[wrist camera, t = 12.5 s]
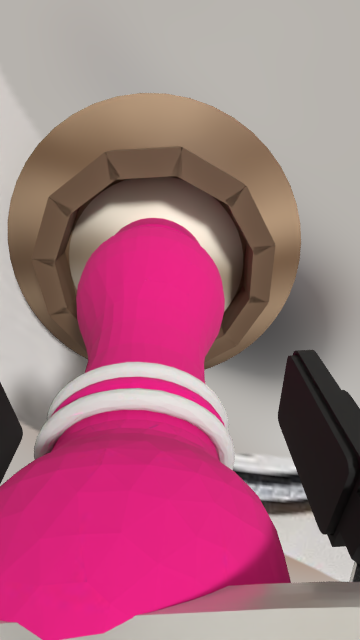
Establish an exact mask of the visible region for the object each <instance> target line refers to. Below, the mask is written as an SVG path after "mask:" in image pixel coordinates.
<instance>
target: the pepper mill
mask: <svg viewBox="0 0 360 640" xmlns="http://www.w3.org/2000/svg"><path fill="white" fill-rule="evenodd" d="M76 303H77V320H78V324H79V329H80V332H81V335H82V337H83V340H84V343H85V346H86V350H87V354H88V364H87V367H86V371H85V374H82V375H80V376H78V377H77V378H75V379H74V380H72V381H71V382H69V383H68V384H67V385H66V386H65V387H64V388H63V389H62V390H61V391H60V392H59V393H58V394H57V396H56V397H55V398H54V400H53V402H52V404H51V406H50V408H49V412H48V415H47V422H46V423H45V424H44V425H43V427H42V429H41V431H40V433H39V434H38V436H37V439H36V443H35V446H34V458H35V460H34V461H33V462H31V463H30V464H28V465H27V466H25V467H24V468H22V469H21V470H20V471H18V472H17V473H16V474H14V475H13V476H12V477H11V478H10V479H9V480H7V481H6V482H5V483H4V484H3V485H2V486H0V621H6V622H16V623H18V624H20V625H21V626H23V627H24V628H26V629H27V630H29V631H30V632H32V633H33V634H35V635H36V636H38V637H39V638H40V639H42V640H63V639H69V638H76V637H83V636H89V635H96V634H103V633H105V632H107V631H109V630H111V629H113V628H115V627H116V626H118V625H120V624H122V623H124V622H126V621H128V620H130V619H132V618H133V617H134V616H135V615H140V614H144V613H149V612H154V611H157V610H160V609H164V608H167V607H171V606H174V605H177V604H181V603H184V602H187V601H191V600H194V599H197V598H199V597H202V596H205V595H207V594H210V593H213V592H215V591H218V590H220V589H222V588H225V587H227V586H234V585H253V584H276V583H291V582H290V577H289V573H288V569H287V565H286V561H285V556H284V553H283V550H282V547H281V543H280V540H279V537H278V534H277V531H276V528H275V526H274V525H273V523H272V521H271V519H270V517H269V515H268V513H267V512H266V510H265V508H264V506H263V504H262V502H261V501H260V499H259V497H258V496H257V495H256V493H255V492H254V491H253V490H252V489H251V488H250V487H249V486H248V485H247V484H246V483H245V482H244V481H243V480H242V479H241V478H240V477H239V476H238V475H237V474H236V473H235V472H234V471H233V467H234V460H235V453H234V446H233V441H232V438H231V437H230V435H229V433H228V431H229V423H228V416H227V413H226V411H225V409H224V406H223V404H222V403H221V401H220V399H219V397H218V396H217V395H216V394H215V393H214V392H213V391H212V390H211V389H210V388H209V387H208V386H207V385H206V384H205V380H204V360H205V356H206V355H207V353H208V351H209V350H210V348H211V346H212V344H213V343H214V341H215V339H216V337H217V335H218V334H219V330H220V326H221V323H222V319H223V314H224V308H225V298H224V291H223V285H222V279H221V276H220V273H219V270H218V268H217V266H216V264H215V263H214V261H213V259H212V258H211V257H210V255H209V254H208V253H207V252H206V250H205V249H203V248H202V247H201V246H200V244H199V242H198V241H197V239H196V238H195V237H194V236H193V235H192V233H191V232H190V231H188V230H187V229H186V228H184V227H183V226H181V225H179V224H177V223H175V222H173V221H170V220H167V219H163V218H144V219H140V220H137V221H134V222H131V223H130V224H128V225H126V226H125V227H123V228H121V229H120V230H119V231H118V232H117V233H116V234H115V235H114V236H112V237H110V238H109V239H108V240H106V241H105V242H103V243H102V244H101V245H100V246H99V247H98V248H97V249H96V250H95V251H94V252H93V253H92V255H91V256H90V258H89V259H88V261H87V262H86V265H85V267H84V270H83V272H82V275H81V278H80V281H79V284H78V288H77V296H76Z"/></svg>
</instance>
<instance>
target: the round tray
mask: <svg viewBox="0 0 360 640" xmlns="http://www.w3.org/2000/svg"><path fill="white" fill-rule="evenodd" d="M144 218H163V219H167V220H170V221H173V222H175V223H177V224H179V225H181V226H183V227H184V228H186V229H187V230H188V231H190V232H191V233H192V235H193V236H194V237H195V238H196V239H197V241H198V242H199V244H200V246H201V247H202V248H203V249H205V250H206V252H207V253H208V254H209V255H210V257H211V258H212V259H213V261H214V263H215V264H216V266H217V268H218V270H219V273H220V276H221V279H222V285H223V291H224V298H225V308H224V314H223V319H222V323H221V326H220V330H219V334H218V335H217V337H216V339H215V341H214V343H213V344H212V346H211V348H210V350H209V351H208V353H207V355H206V356H205V360H204V369H207V368H211V367H213V366H215V365H218V364H220V363H222V362H224V361H226V360H228V359H230V358H232V357H233V356H235V355H237V354H238V353H240V352H241V351H243V350H244V349H245V348H247V347H248V346H249V345H251V344H252V343H253V342H254V341H255V340H256V339H257V338H259V337H260V336H261V335H262V334H263V333H264V331H265V330H266V329H267V328H268V327H269V326H270V325H271V323H272V322H273V321H274V319H275V318H276V316H277V315H278V314H279V312H280V310H281V309H282V307H283V306H284V303H285V302H286V300H287V298H288V296H289V294H290V291H291V288H292V286H293V283H294V280H295V277H296V273H297V269H298V264H299V258H300V248H301V247H300V246H301V232H300V220H299V215H298V209H297V204H296V201H295V198H294V195H293V192H292V189H291V186H290V184H289V182H288V180H287V178H286V176H285V174H284V172H283V170H282V168H281V166H280V165H279V163H278V162H277V161H276V159H275V158H274V156H273V155H272V154H271V152H270V151H269V149H268V148H267V147H266V146H265V145H264V144H263V143H262V142H261V141H260V140H259V139H258V138H257V137H256V136H255V134H254V133H253V132H251V131H250V130H249V129H248V128H246V127H245V126H244V125H242V124H241V123H240V122H238V121H237V120H236V119H235V118H233V117H231V116H229V115H228V114H226V113H224V112H222V111H220V110H218V109H217V108H215V107H213V106H210V105H207V104H205V103H202V102H199V101H196V100H193V99H191V98H186V97H181V96H175V95H170V94H156V93H154V94H153V93H139V94H132V95H124V96H117V97H114V98H111V99H107V100H104V101H101V102H98V103H95V104H92V105H90V106H88V107H87V108H84V109H82V110H80V111H79V112H77V113H75V114H73V115H71V116H70V117H69V118H67V119H66V120H64V121H63V122H62V123H60V124H59V125H58V126H56V127H55V128H54V129H53V130H52V131H51V132H50V133H49V134H48V135H47V136H46V137H45V138H44V139H43V140H42V141H41V142H40V143H39V144H38V146H37V147H36V148H35V150H34V151H33V153H32V154H31V156H30V157H29V158H28V160H27V161H26V163H25V165H24V167H23V169H22V171H21V173H20V175H19V178H18V180H17V182H16V185H15V188H14V192H13V195H12V198H11V202H10V209H9V216H8V245H9V252H10V259H11V263H12V266H13V270H14V274H15V277H16V279H17V282H18V284H19V287H20V289H21V291H22V294H23V295H24V297H25V299H26V300H27V302H28V304H29V306H30V307H31V309H32V310H33V312H34V313H35V314H36V316H37V317H38V318H39V320H40V321H41V322H42V324H43V325H44V326H45V327H46V328H47V329H48V330H49V331H50V332H51V333H52V334H53V335H54V336H55V337H56V338H58V339H59V340H60V341H61V342H62V343H63V344H65V345H66V346H67V347H69V348H70V349H72V350H73V351H75V352H76V353H78V354H79V355H81V356H83V357H85V358H86V359H88V354H87V350H86V346H85V343H84V340H83V337H82V335H81V332H80V329H79V324H78V320H77V303H76V296H77V288H78V284H79V281H80V278H81V275H82V272H83V270H84V267H85V265H86V262H87V261H88V259H89V258H90V256H91V255H92V253H93V252H94V251H95V250H96V249H97V248H98V247H99V246H100V245H101V244H102V243H103V242H105V241H106V240H108V239H109V238H110V237H112V236H114V235H115V234H116V233H117V232H118V231H119V230H120V229H121V228H123V227H125V226H126V225H128V224H130V223H131V222H134V221H137V220H140V219H144Z"/></svg>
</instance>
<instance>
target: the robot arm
mask: <svg viewBox="0 0 360 640" xmlns="http://www.w3.org/2000/svg"><path fill="white" fill-rule="evenodd" d="M278 421H279V424H280V427H281V430H282V433H283V435H284V438H285V441H286V443H287V446H288V449H289V451H290V454H291V456H292V459H293V462H294V464H295V467H296V470H297V472H298V475H299V478H300V480H301V483H302V485H303V488H304V491H305V493H306V496H307V499H308V501H309V504H310V506H311V509H312V512H313V514H314V517H315V520H316V522H317V525H318V527H319V530H320V531H321V533H322V534H327V535H328V537H329V540H330V543H331V545H332V547H340V546H346V547H347V550H348V552H349V554H350V557H351V559H352V560H354V561H355V562H354V566H353V570H352V573H351V577H350V581H349V582H308V583H276V584H253V585H234V586H227V587H225V588H222V589H220V590H218V591H215V592H213V593H210V594H207V595H205V596H202V597H199V598H197V599H194V600H191V601H187V602H184V603H181V604H177V605H174V606H171V607H167V608H164V609H160V610H157V611H154V612H149V613H144V614H140V615H135V616H134V617H133V618H132V619H130V620H128V621H126V622H124V623H122V624H120V625H118V626H116V627H115V628H113V629H111V630H109V631H107V632H105V633H103V634H96V635H89V636H83V637H76V638H69V639H63V640H360V409H359V407H358V406H357V404H356V403H355V401H354V400H353V398H352V397H351V396H350V395H349V393H348V392H346V391H345V390H341V389H340V388H339V386H338V384H337V383H336V382H335V380H334V378H333V377H332V375H331V374H330V372H329V371H328V369H327V368H326V366H325V365H324V364H323V362H322V361H321V359H320V358H319V356H318V355H317V353H316V352H315V351H314V350H301V351H294V353H293V356H288V359H287V364H286V369H285V375H284V381H283V387H282V393H281V399H280V405H279V411H278ZM22 435H23V432H22V427H21V425H20V423H19V421H18V419H17V417H16V415H15V412H14V410H13V408H12V406H11V404H10V402H9V400H8V398H7V396H6V393H5V391H4V389H3V387H2V385H1V383H0V483H1V481H2V479H3V477H4V475H5V472H6V471H7V469H8V467H9V464H10V462H11V460H12V458H13V456H14V454H15V452H16V450H17V448H18V446H19V444H20V442H21V439H22ZM0 640H42V639H40V638H39V637H38V636H36V635H35V634H33V633H32V632H30V631H29V630H27V629H26V628H24V627H23V626H21V625H20V624H18V623H16V622H6V621H0Z"/></svg>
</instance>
